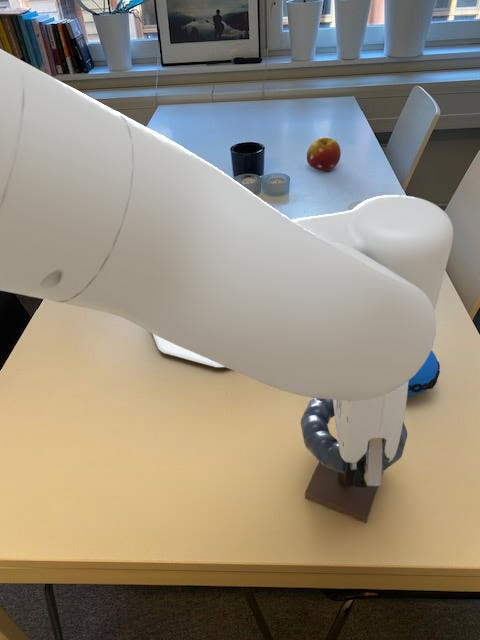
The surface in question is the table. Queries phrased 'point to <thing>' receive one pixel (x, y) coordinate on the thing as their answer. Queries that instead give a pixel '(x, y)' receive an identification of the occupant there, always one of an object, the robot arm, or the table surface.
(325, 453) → the ring
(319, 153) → the fruit
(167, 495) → the table surface
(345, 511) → the stand
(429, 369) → the ornament
